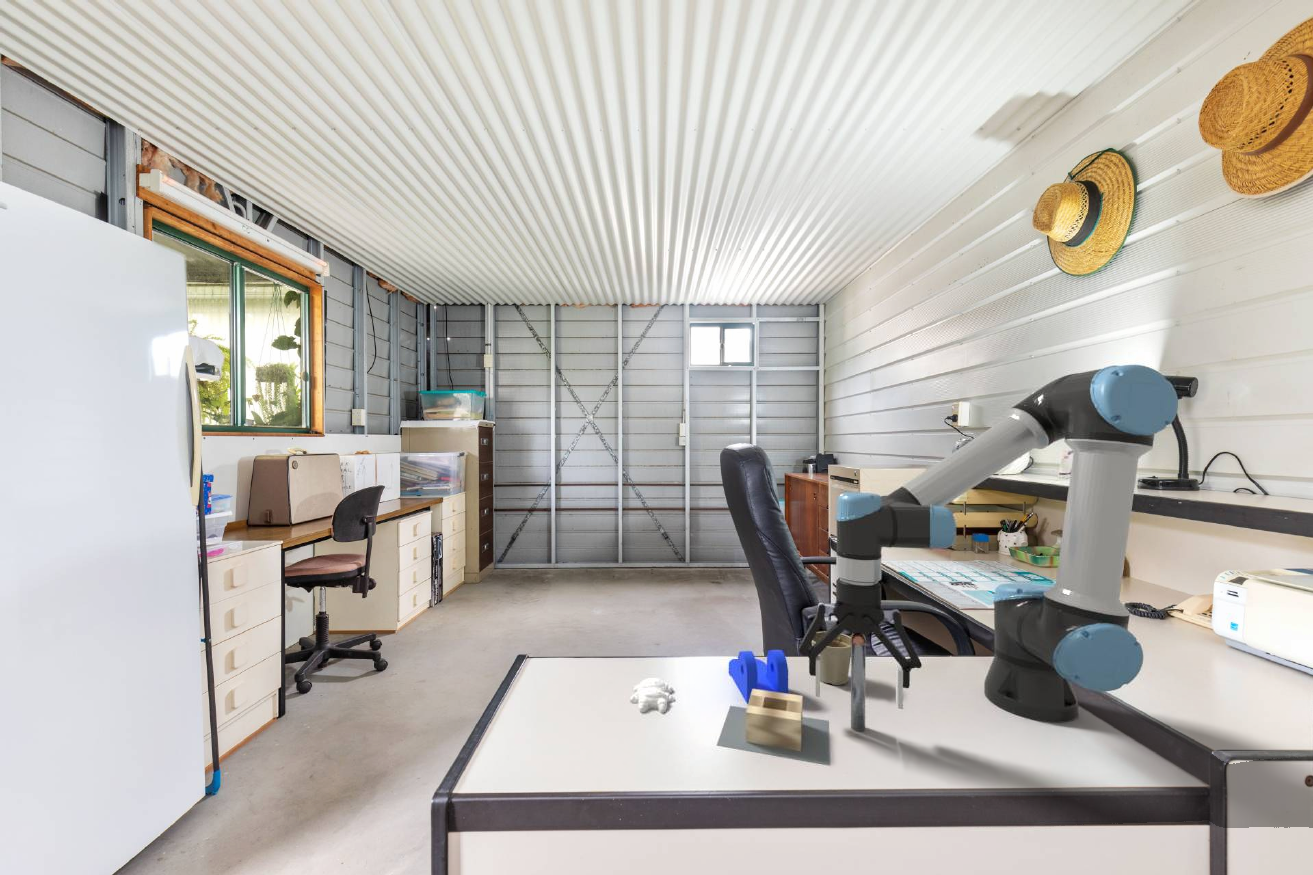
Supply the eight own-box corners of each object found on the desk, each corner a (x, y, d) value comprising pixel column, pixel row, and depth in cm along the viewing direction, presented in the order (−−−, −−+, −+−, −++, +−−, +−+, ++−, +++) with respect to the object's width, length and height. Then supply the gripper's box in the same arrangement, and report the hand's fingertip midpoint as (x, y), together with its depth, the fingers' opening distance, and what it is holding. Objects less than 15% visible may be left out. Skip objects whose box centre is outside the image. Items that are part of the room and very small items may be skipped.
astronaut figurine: (626, 713, 100) (626, 697, 100) (636, 684, 112) (636, 670, 112) (672, 717, 99) (672, 700, 99) (677, 687, 111) (677, 673, 111)
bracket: (788, 703, 104) (788, 657, 104) (747, 705, 103) (747, 659, 103) (760, 665, 122) (760, 626, 122) (724, 666, 121) (724, 627, 121)
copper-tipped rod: (865, 727, 95) (865, 630, 95) (866, 734, 93) (866, 635, 93) (849, 724, 96) (850, 629, 96) (850, 732, 93) (850, 634, 94)
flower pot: (840, 693, 108) (840, 651, 108) (800, 677, 115) (801, 638, 115) (863, 680, 114) (863, 640, 114) (824, 666, 121) (824, 628, 121)
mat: (828, 722, 97) (828, 720, 97) (829, 766, 83) (829, 765, 83) (730, 707, 102) (730, 705, 102) (716, 746, 89) (716, 745, 89)
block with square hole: (802, 723, 96) (802, 695, 96) (800, 751, 87) (800, 720, 87) (752, 715, 98) (752, 688, 98) (745, 741, 90) (745, 712, 90)
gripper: (931, 580, 94) (931, 700, 94) (787, 569, 102) (787, 680, 102) (940, 591, 87) (940, 721, 87) (785, 578, 95) (784, 697, 94)
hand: (857, 699), depth 94 cm, fingers open, 13 cm apart
